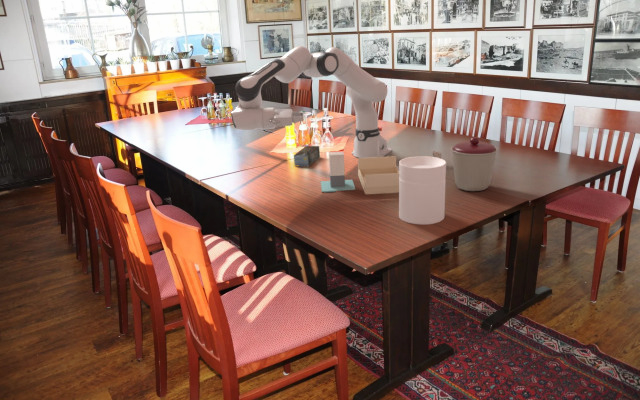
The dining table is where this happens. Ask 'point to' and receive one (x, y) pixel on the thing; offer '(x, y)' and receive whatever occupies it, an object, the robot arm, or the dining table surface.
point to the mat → (327, 187)
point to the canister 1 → (422, 189)
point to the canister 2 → (473, 164)
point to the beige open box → (378, 175)
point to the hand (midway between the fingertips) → (303, 116)
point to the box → (337, 169)
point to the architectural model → (436, 154)
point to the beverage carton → (307, 156)
